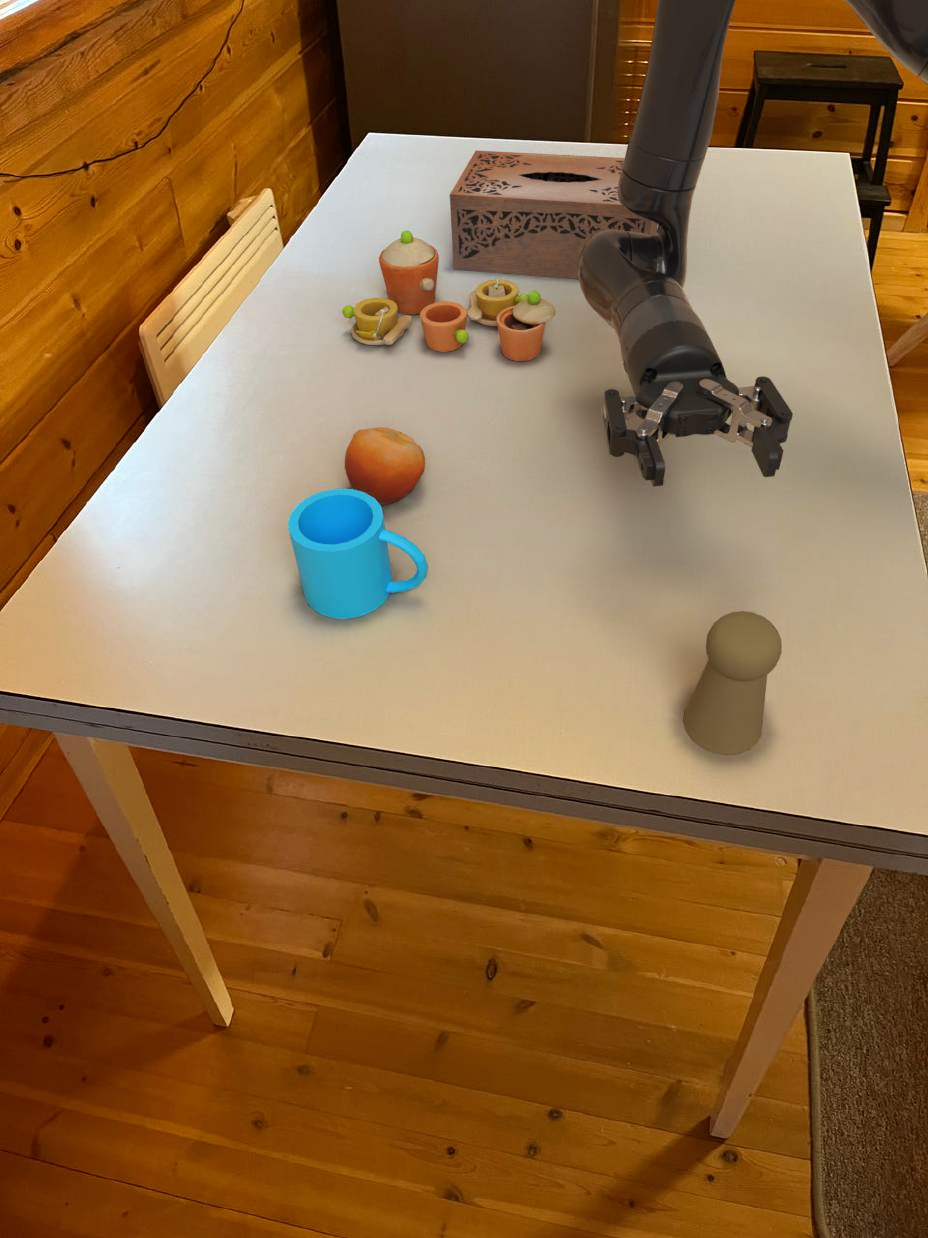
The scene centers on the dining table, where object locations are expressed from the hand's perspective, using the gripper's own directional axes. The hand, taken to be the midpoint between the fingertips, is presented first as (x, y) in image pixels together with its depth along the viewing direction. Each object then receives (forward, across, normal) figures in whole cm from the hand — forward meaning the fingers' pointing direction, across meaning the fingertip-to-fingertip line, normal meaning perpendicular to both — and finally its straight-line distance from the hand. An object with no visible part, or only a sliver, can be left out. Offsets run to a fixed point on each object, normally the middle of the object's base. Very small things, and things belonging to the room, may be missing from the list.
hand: (716, 472), depth 70 cm
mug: (-6, -28, +15) cm, 33 cm away
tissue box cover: (-69, -2, +15) cm, 71 cm away
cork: (+12, 0, +16) cm, 20 cm away
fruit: (-20, -26, +15) cm, 36 cm away
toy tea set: (-51, -17, +15) cm, 56 cm away
